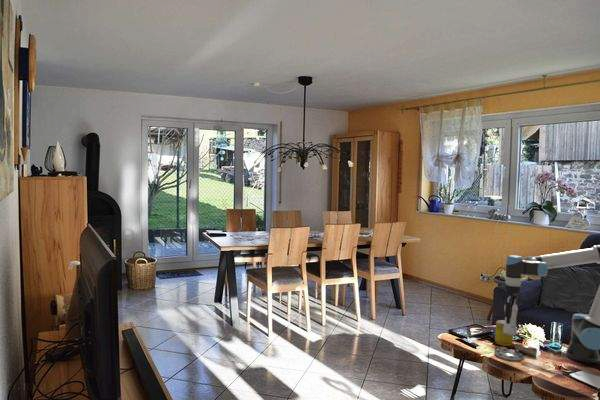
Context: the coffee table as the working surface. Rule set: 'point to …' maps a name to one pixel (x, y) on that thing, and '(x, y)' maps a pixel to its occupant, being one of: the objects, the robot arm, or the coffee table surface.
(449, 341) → the coffee table surface
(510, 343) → the yellow cylinder
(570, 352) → the robot arm
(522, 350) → the grey rectangular block
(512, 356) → the flange
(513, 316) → the plastic bottle
